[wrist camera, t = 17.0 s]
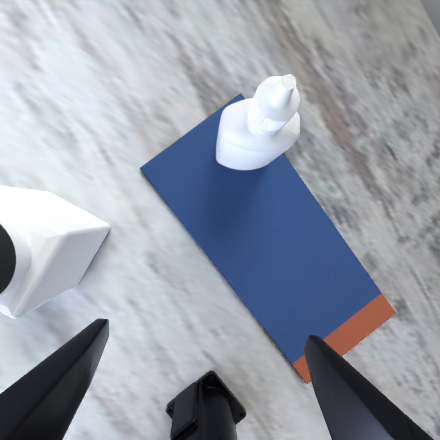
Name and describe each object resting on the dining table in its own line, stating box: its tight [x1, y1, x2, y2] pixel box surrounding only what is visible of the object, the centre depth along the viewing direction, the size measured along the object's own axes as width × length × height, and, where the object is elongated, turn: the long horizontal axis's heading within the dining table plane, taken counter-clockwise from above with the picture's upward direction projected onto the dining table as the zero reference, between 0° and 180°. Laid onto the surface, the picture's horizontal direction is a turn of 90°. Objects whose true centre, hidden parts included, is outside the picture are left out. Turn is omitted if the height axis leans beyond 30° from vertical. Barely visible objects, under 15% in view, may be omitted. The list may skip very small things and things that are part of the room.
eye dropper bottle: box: [216, 74, 300, 170], centre depth 15 cm, size 4×6×12 cm
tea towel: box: [140, 94, 395, 383], centre depth 22 cm, size 30×13×1 cm, turn 37°
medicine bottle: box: [0, 186, 111, 318], centre depth 15 cm, size 7×7×12 cm
